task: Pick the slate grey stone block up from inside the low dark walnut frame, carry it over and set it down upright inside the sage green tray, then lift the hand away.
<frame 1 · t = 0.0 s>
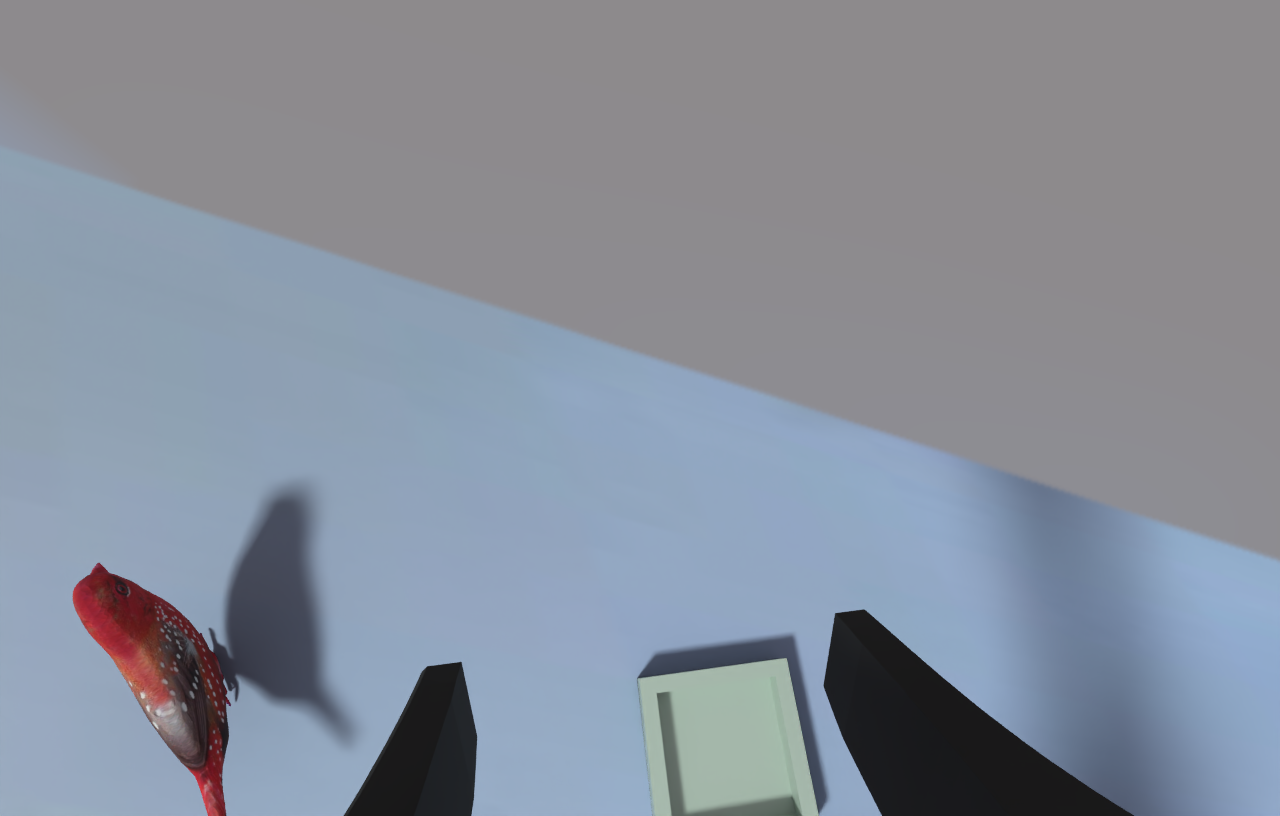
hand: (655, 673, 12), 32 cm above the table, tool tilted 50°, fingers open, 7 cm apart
sage tray: (721, 750, 40), on the table
decorative bird figurine: (231, 699, 39), on the table
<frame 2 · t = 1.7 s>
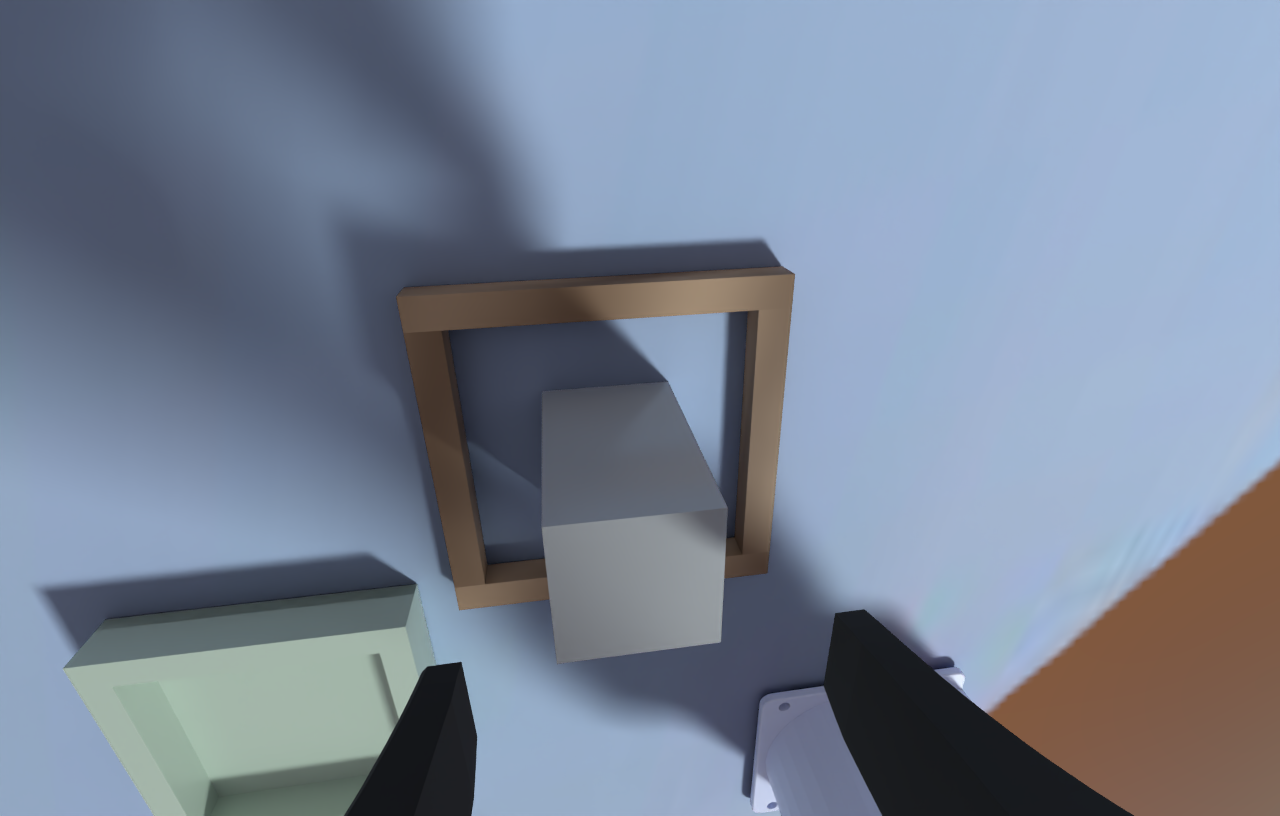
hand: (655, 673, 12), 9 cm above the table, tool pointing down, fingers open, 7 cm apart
sage tray: (304, 701, 23), on the table
walnut frame: (608, 442, 20), on the table
stone block: (620, 501, 17), in the walnut frame
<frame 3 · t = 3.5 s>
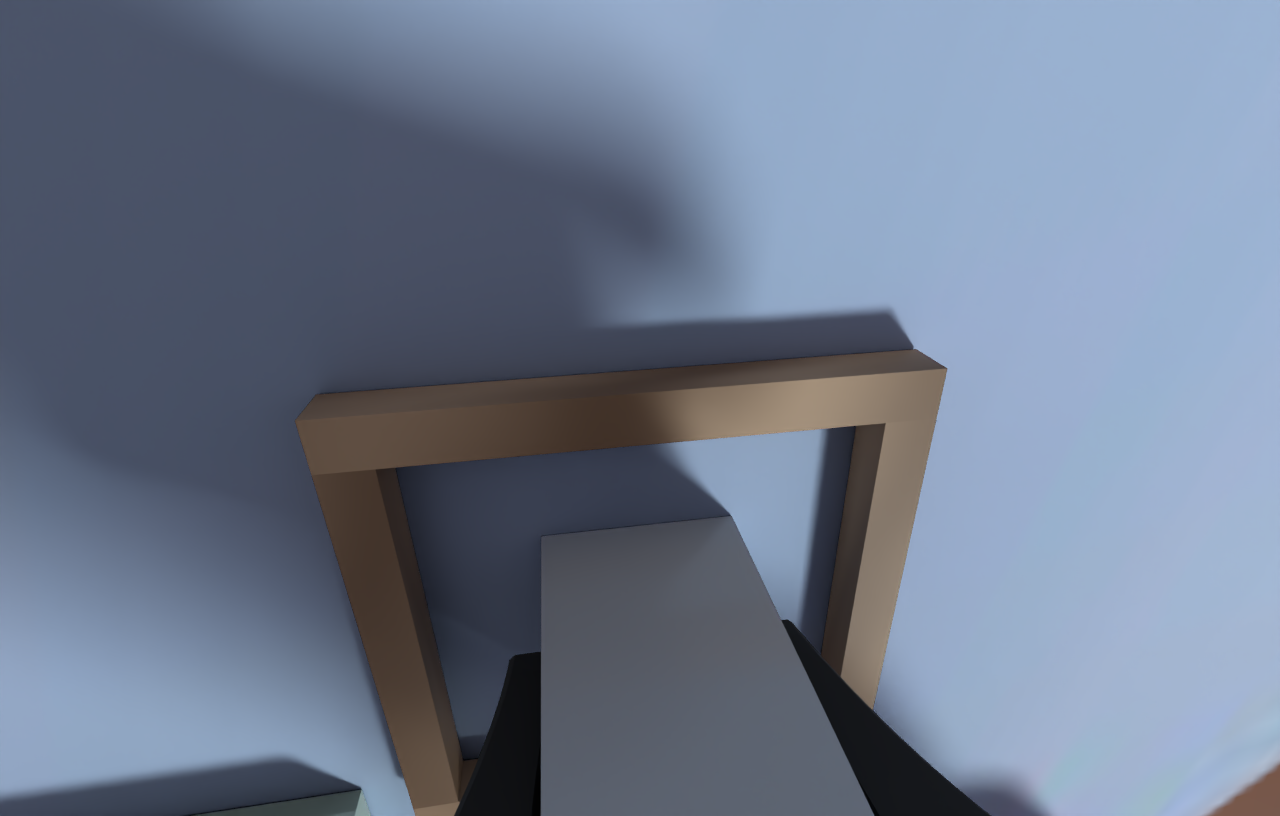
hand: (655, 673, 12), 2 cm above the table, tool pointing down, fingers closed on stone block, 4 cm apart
walnut frame: (640, 599, 13), on the table
stone block: (670, 745, 10), in the walnut frame, touching gripper
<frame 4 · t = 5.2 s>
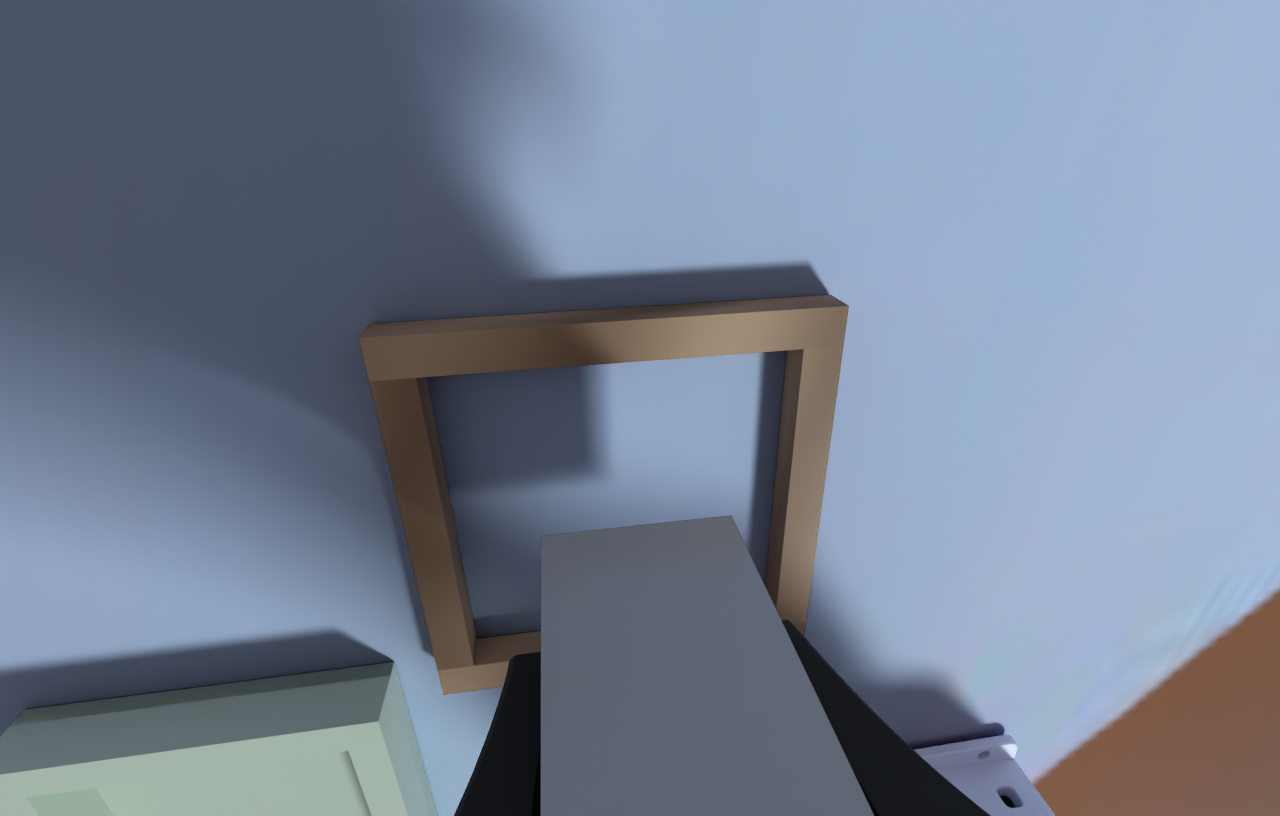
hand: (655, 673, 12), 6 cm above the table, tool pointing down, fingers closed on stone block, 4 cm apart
sage tray: (266, 791, 20), on the table
walnut frame: (619, 500, 17), on the table
stone block: (669, 744, 10), point 7 cm above the table, touching gripper
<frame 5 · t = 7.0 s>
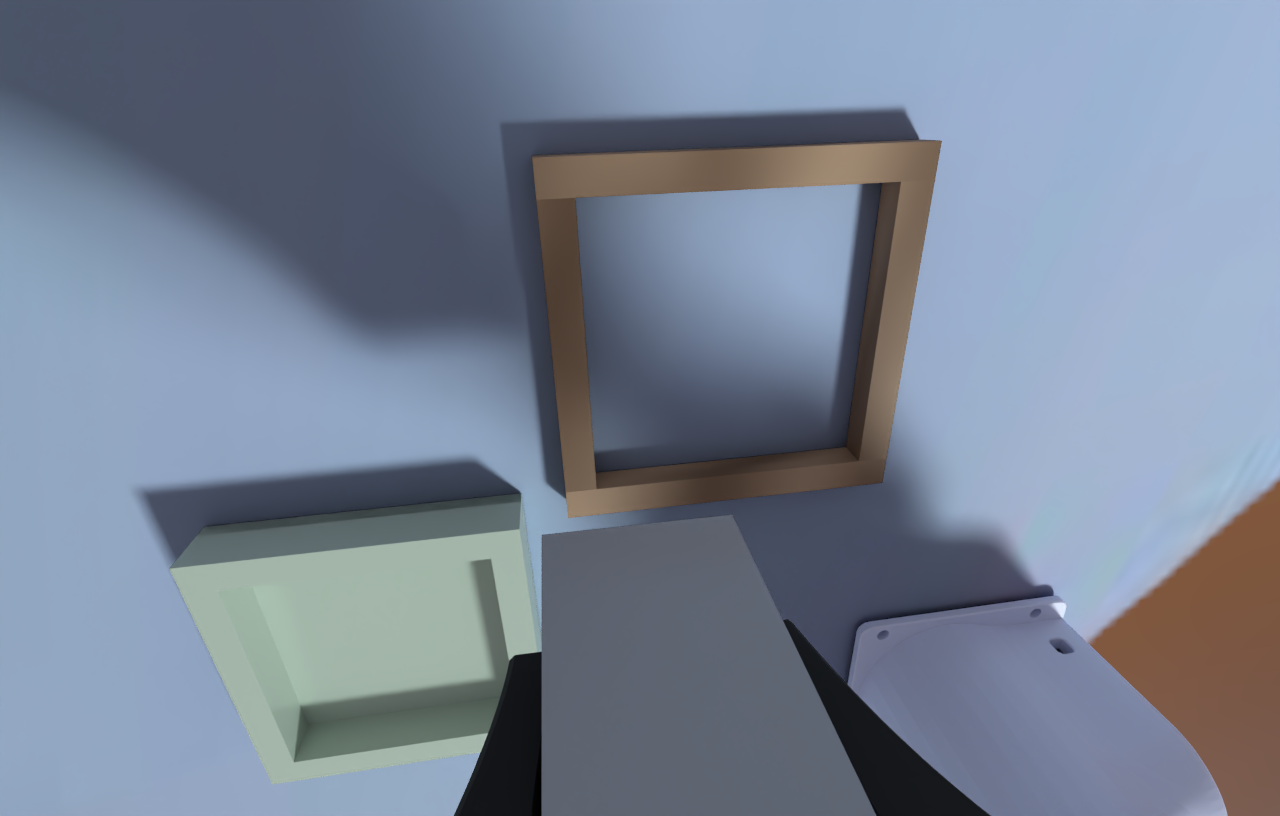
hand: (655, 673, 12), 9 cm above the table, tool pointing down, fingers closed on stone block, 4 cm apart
sage tray: (398, 622, 22), on the table
walnut frame: (727, 336, 19), on the table
stone block: (670, 743, 10), point 11 cm above the table, touching gripper
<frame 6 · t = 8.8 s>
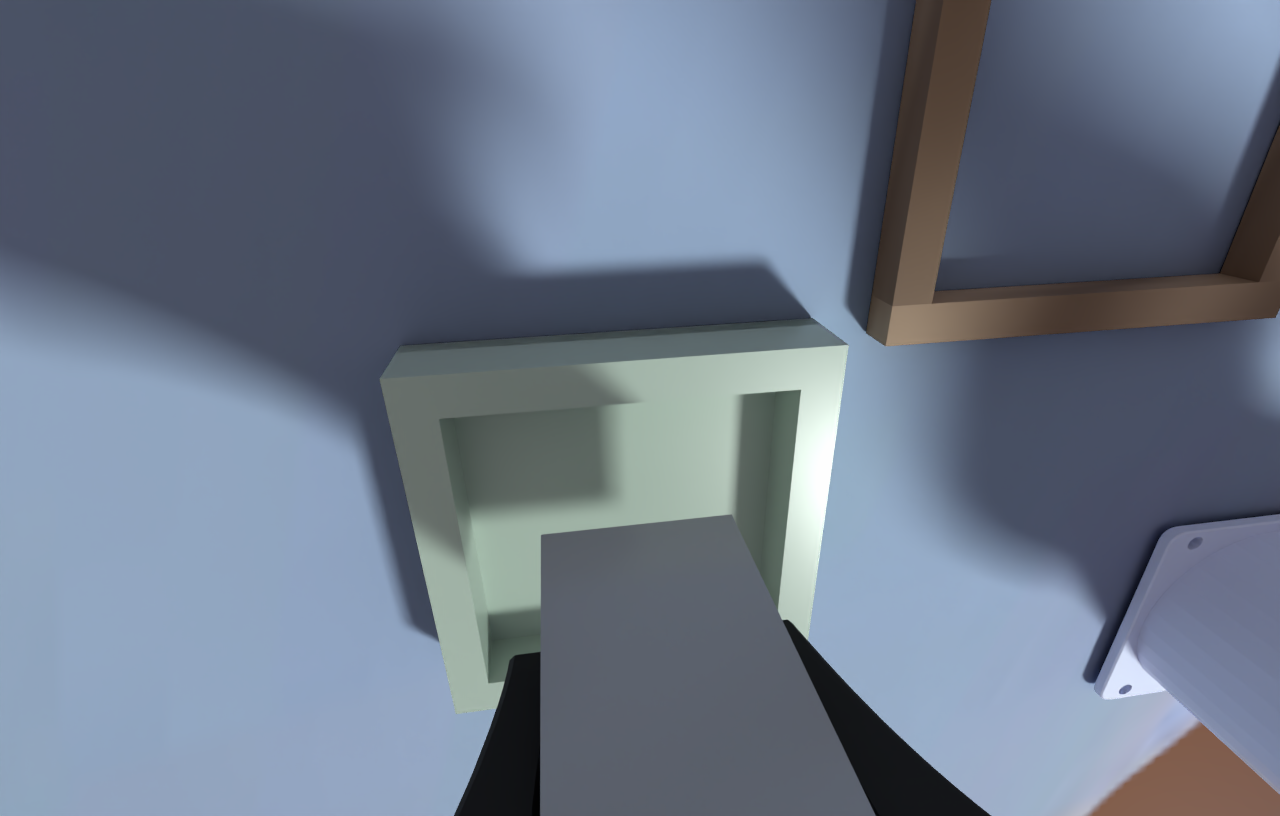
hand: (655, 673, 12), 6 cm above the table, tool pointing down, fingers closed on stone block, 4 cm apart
sage tray: (622, 503, 17), on the table
walnut frame: (1127, 88, 14), on the table
stone block: (669, 743, 10), point 7 cm above the table, touching gripper
when the fingers open (4 cm above the table, at t = 10.4 s): stone block drops 1 cm, resting on sage tray.
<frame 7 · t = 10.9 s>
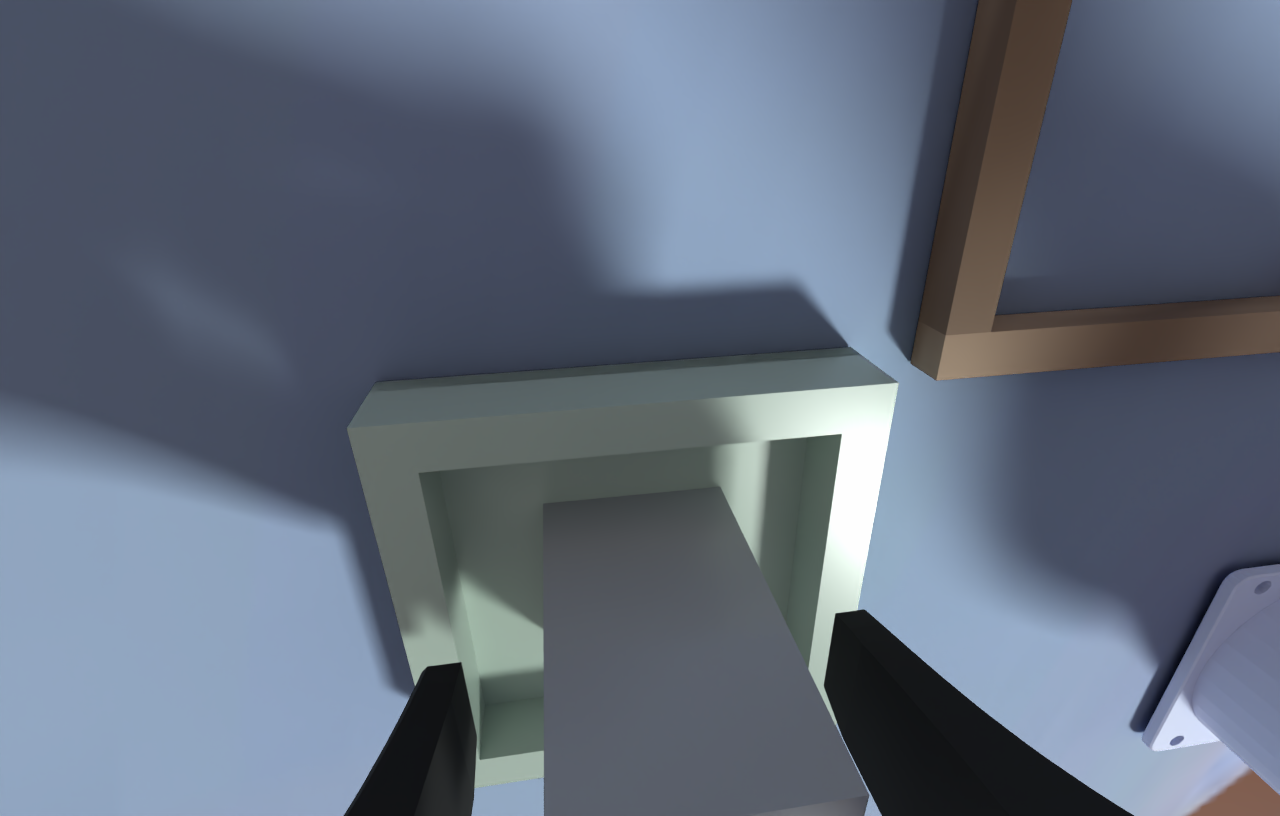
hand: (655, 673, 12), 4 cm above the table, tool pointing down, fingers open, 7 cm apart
sage tray: (631, 553, 15), on the table
walnut frame: (1219, 83, 12), on the table
stone block: (660, 689, 11), in the sage tray
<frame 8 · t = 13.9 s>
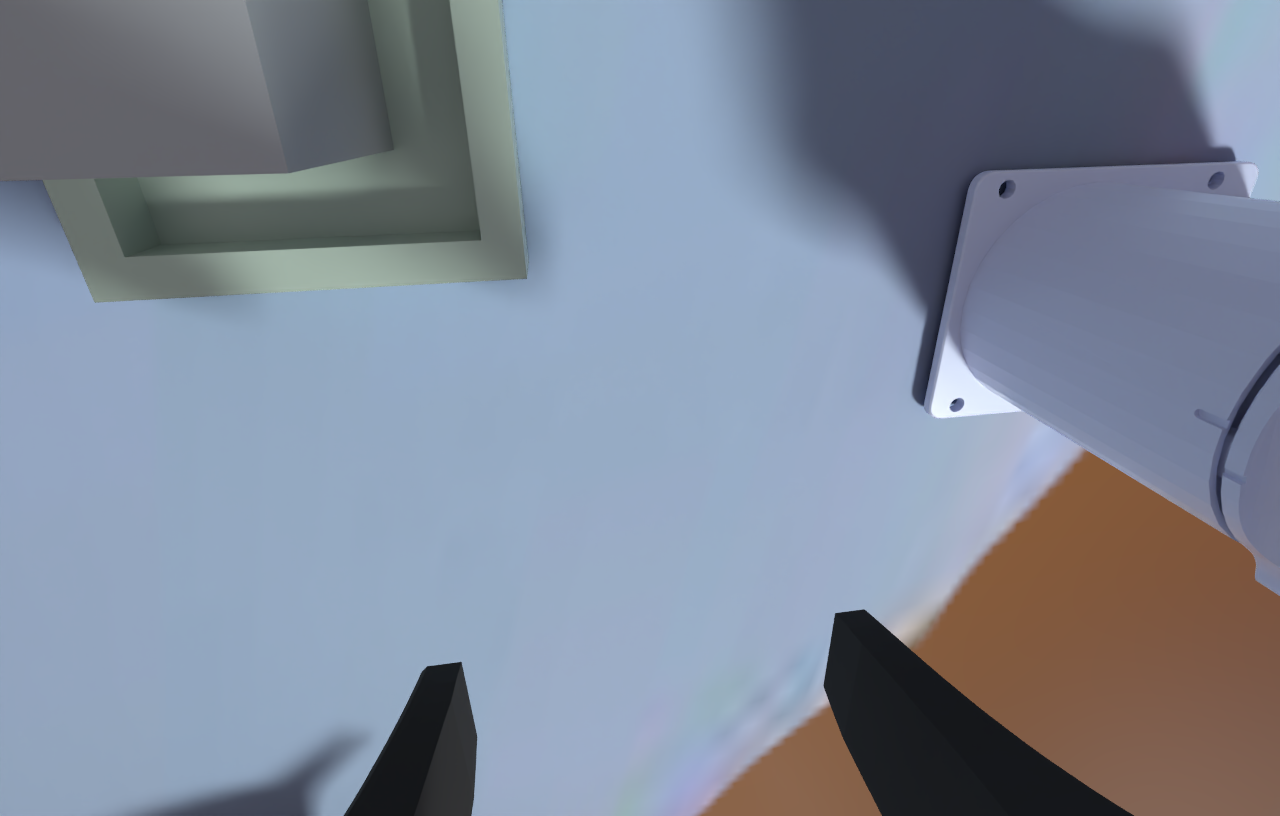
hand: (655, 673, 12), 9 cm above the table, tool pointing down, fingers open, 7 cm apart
sage tray: (294, 61, 14), on the table
stone block: (212, 39, 11), in the sage tray
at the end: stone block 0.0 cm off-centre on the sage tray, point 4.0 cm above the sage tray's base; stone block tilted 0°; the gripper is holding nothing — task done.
